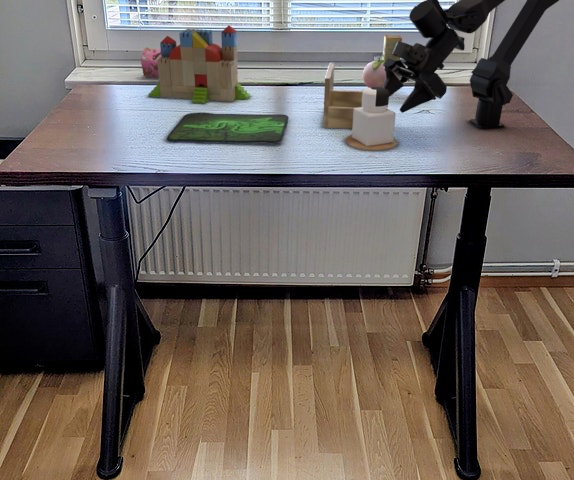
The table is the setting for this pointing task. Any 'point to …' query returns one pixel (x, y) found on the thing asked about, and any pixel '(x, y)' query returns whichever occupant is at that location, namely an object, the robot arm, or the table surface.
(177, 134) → the mouse mat
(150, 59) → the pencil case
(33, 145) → the table surface
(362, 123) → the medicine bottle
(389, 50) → the shoe polish box
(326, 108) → the spice rack
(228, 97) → the block set
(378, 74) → the decorative fruit
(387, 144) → the cork coaster
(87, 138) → the table surface
